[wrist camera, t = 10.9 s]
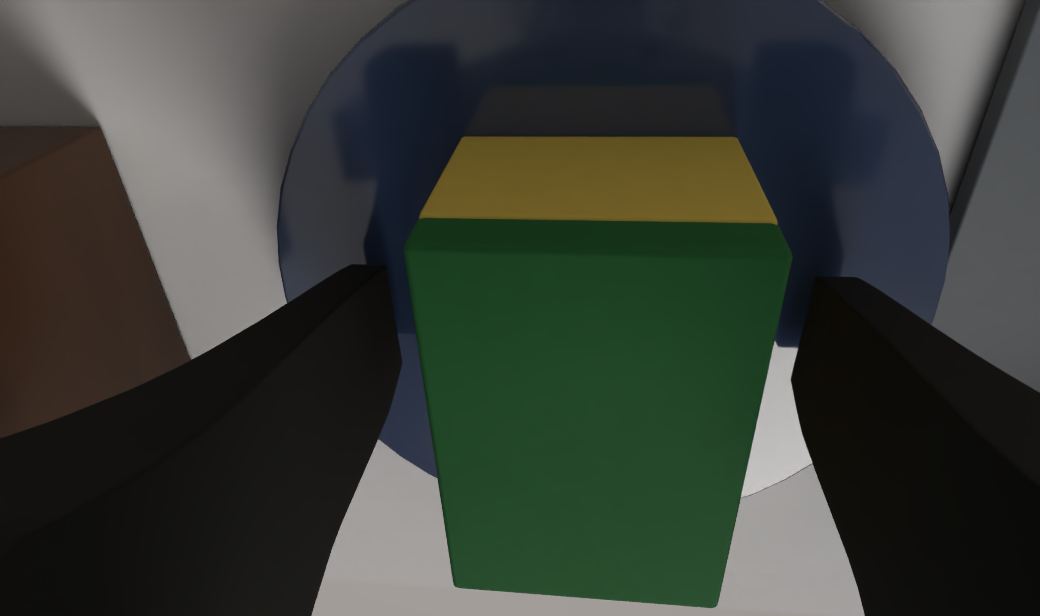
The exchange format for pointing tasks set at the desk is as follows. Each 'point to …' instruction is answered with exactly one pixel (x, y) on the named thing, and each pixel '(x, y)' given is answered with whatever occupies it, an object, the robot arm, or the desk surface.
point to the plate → (625, 113)
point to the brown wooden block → (73, 280)
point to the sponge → (595, 359)
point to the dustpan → (1001, 222)
